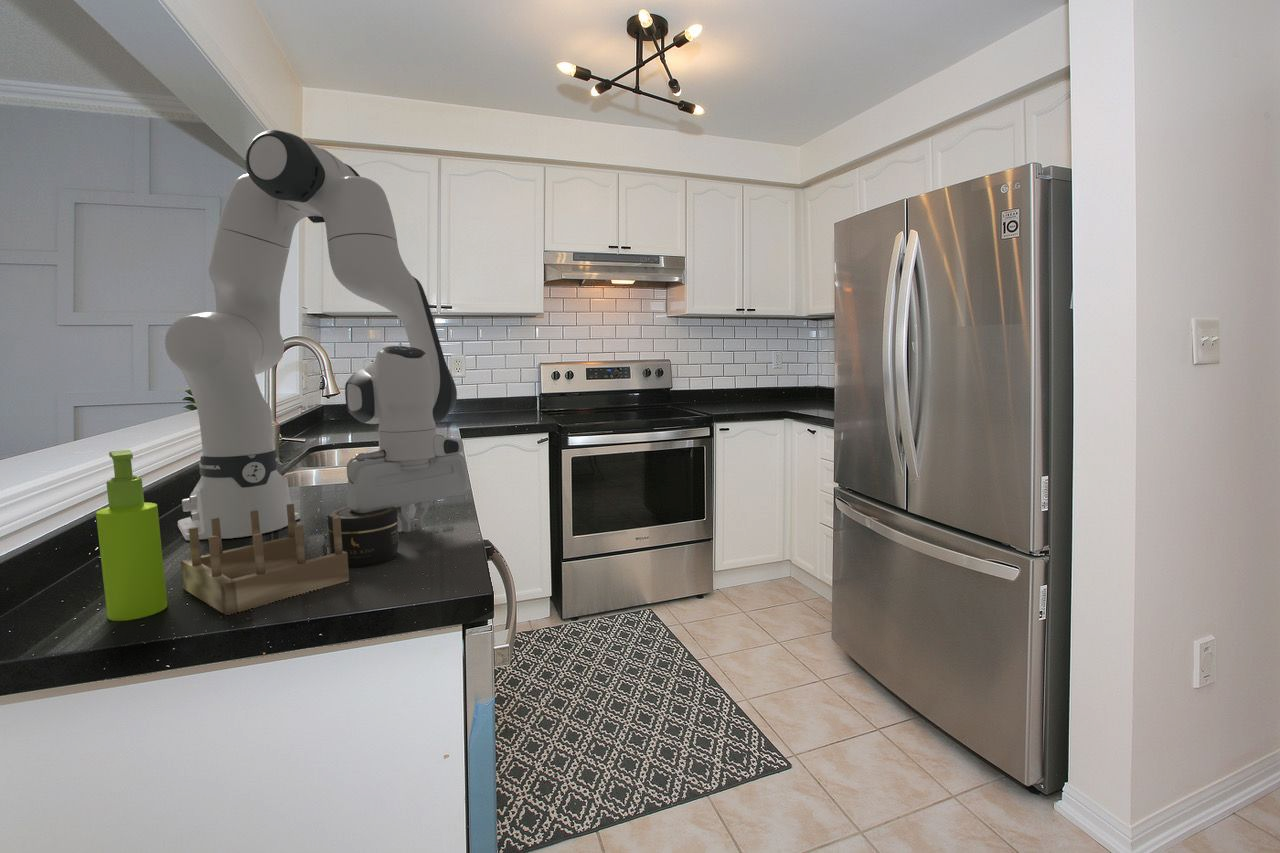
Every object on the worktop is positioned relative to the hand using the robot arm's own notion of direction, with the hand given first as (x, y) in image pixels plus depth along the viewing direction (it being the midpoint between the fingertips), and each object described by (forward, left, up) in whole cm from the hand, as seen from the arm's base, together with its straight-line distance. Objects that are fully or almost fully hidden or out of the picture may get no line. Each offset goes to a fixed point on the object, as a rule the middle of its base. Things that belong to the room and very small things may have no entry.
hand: (413, 529), depth 106 cm
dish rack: (0, -22, -3) cm, 22 cm away
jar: (0, -8, -3) cm, 9 cm away
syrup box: (-12, +4, -3) cm, 13 cm away
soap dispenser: (-4, -36, -3) cm, 37 cm away
